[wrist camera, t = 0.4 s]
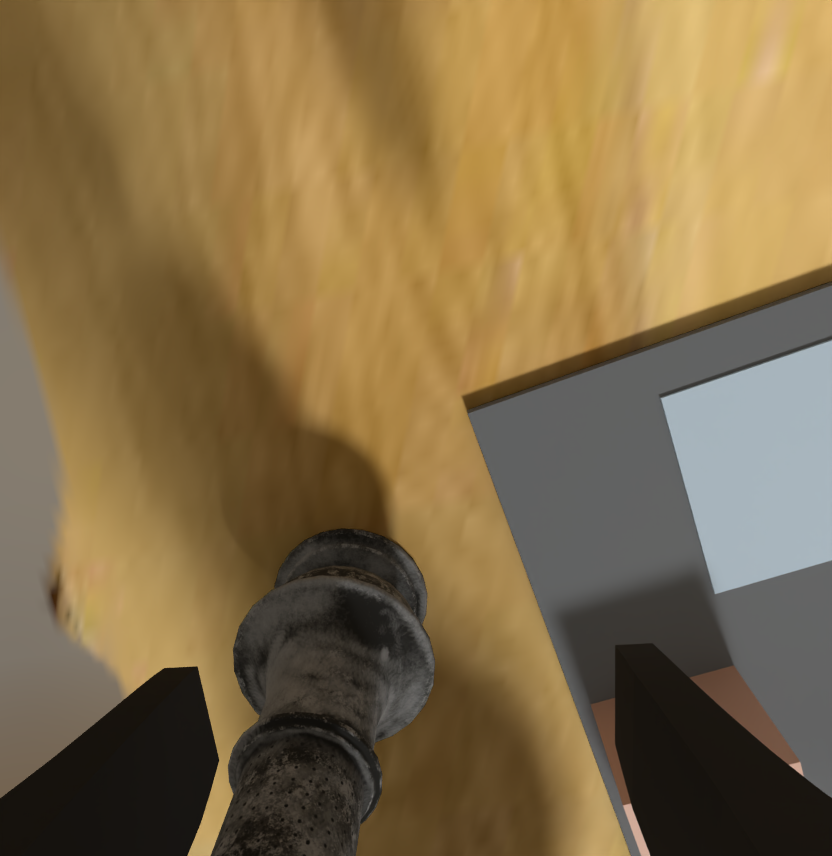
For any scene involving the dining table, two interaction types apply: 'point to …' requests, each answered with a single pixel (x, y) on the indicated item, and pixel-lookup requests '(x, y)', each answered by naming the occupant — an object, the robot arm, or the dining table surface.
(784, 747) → the terracotta brick
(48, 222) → the dining table surface
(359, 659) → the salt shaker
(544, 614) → the grey mat
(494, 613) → the dining table surface
